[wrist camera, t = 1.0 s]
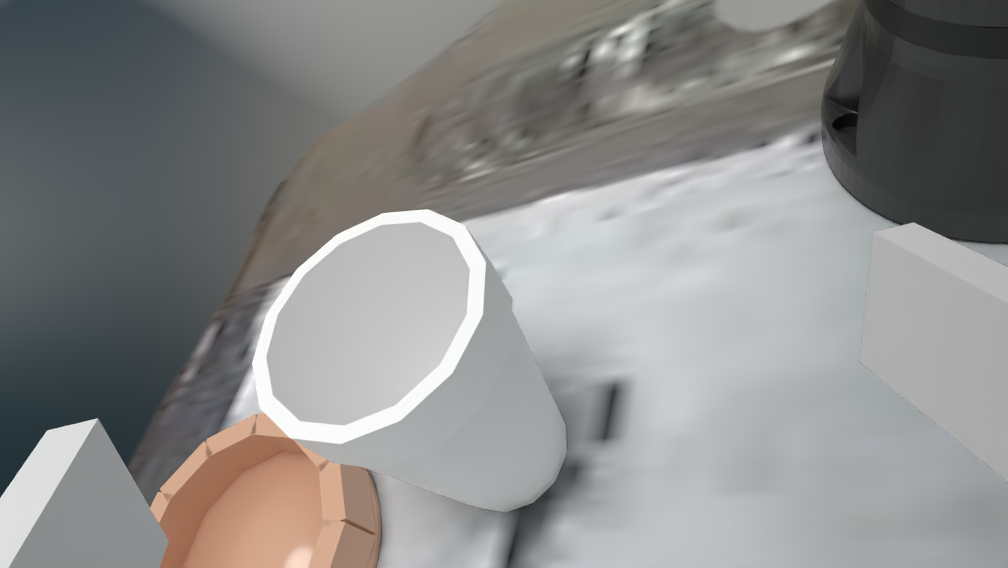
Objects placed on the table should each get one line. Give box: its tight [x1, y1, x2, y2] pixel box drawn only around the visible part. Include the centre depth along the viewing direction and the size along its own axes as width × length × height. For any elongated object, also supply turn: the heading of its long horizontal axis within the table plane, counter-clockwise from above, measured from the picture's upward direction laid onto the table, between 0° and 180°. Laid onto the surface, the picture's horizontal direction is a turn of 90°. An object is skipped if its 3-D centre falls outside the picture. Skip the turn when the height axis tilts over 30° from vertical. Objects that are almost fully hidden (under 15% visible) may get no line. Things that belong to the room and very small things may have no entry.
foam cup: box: [252, 209, 567, 512], centre depth 28 cm, size 10×9×13 cm
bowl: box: [150, 413, 381, 568], centre depth 33 cm, size 13×13×3 cm
